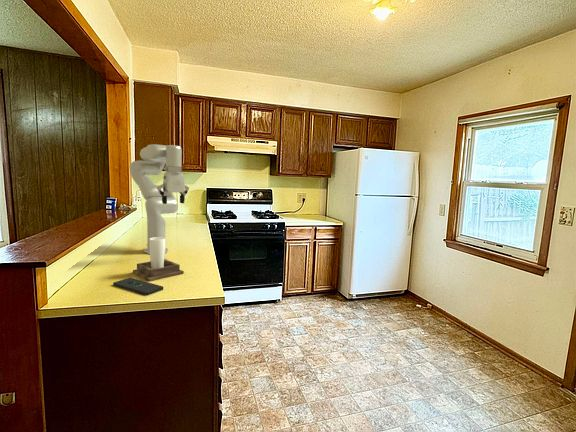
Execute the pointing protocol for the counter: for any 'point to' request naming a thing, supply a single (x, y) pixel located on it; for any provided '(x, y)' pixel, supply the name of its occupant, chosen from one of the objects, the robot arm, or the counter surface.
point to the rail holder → (157, 270)
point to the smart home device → (138, 286)
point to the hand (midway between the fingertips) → (173, 203)
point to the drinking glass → (157, 252)
